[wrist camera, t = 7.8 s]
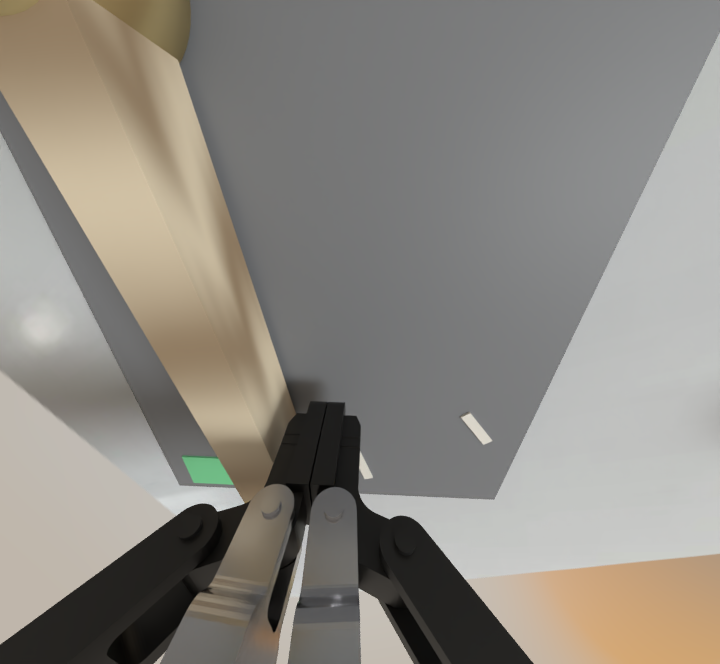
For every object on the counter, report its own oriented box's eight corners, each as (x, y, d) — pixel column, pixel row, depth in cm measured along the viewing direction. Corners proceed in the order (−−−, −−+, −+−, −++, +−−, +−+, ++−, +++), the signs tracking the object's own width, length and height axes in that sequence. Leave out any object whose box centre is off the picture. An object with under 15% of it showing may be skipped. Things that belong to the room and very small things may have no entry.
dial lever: (-12, -125, 6) (-409, -457, 3) (143, -169, 5) (-120, -594, 2) (262, 460, 15) (237, 524, 12) (325, 456, 14) (314, 521, 11)
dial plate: (-74, -152, 6) (-199, -250, 5) (742, -136, 6) (852, -233, 5) (193, 463, 18) (178, 486, 16) (484, 476, 18) (494, 501, 16)
